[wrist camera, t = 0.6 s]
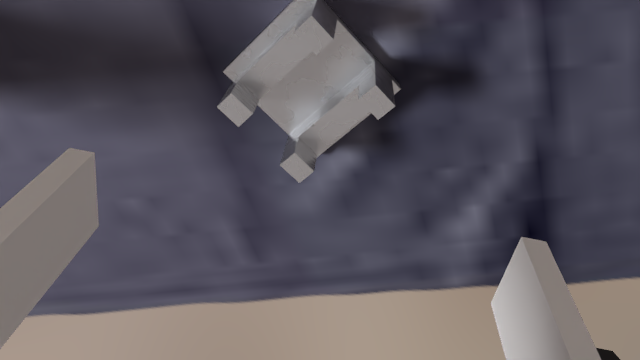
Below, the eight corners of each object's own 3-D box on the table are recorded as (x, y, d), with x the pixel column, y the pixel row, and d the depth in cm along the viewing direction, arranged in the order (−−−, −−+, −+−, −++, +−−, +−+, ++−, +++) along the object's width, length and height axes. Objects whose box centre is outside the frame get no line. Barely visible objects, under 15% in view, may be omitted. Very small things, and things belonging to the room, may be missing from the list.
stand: (225, 67, 40) (205, 96, 35) (309, -16, 37) (299, 2, 32) (315, 153, 44) (308, 191, 38) (400, 84, 40) (405, 116, 35)
